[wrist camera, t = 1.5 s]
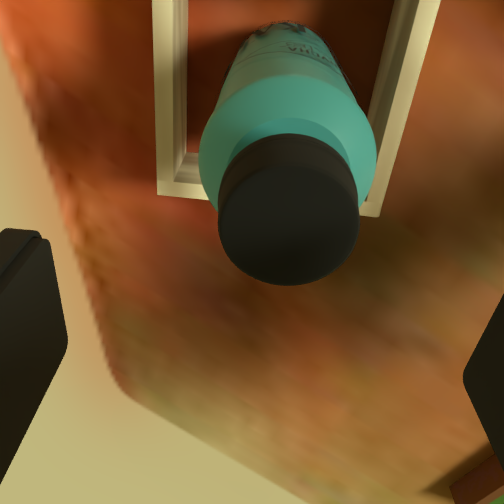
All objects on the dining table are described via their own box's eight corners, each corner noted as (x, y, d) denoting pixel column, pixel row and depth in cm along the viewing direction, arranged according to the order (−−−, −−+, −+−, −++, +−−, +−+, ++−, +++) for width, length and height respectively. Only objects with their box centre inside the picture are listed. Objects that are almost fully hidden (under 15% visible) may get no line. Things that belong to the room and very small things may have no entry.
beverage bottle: (315, 133, 31) (364, 347, 14) (220, 108, 30) (153, 302, 13) (349, 30, 27) (470, 154, 10) (242, 0, 26) (188, 80, 10)
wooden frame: (424, -48, 25) (454, -48, 21) (365, 183, 33) (378, 217, 28) (171, -77, 24) (149, -83, 20) (172, 163, 32) (157, 194, 28)
